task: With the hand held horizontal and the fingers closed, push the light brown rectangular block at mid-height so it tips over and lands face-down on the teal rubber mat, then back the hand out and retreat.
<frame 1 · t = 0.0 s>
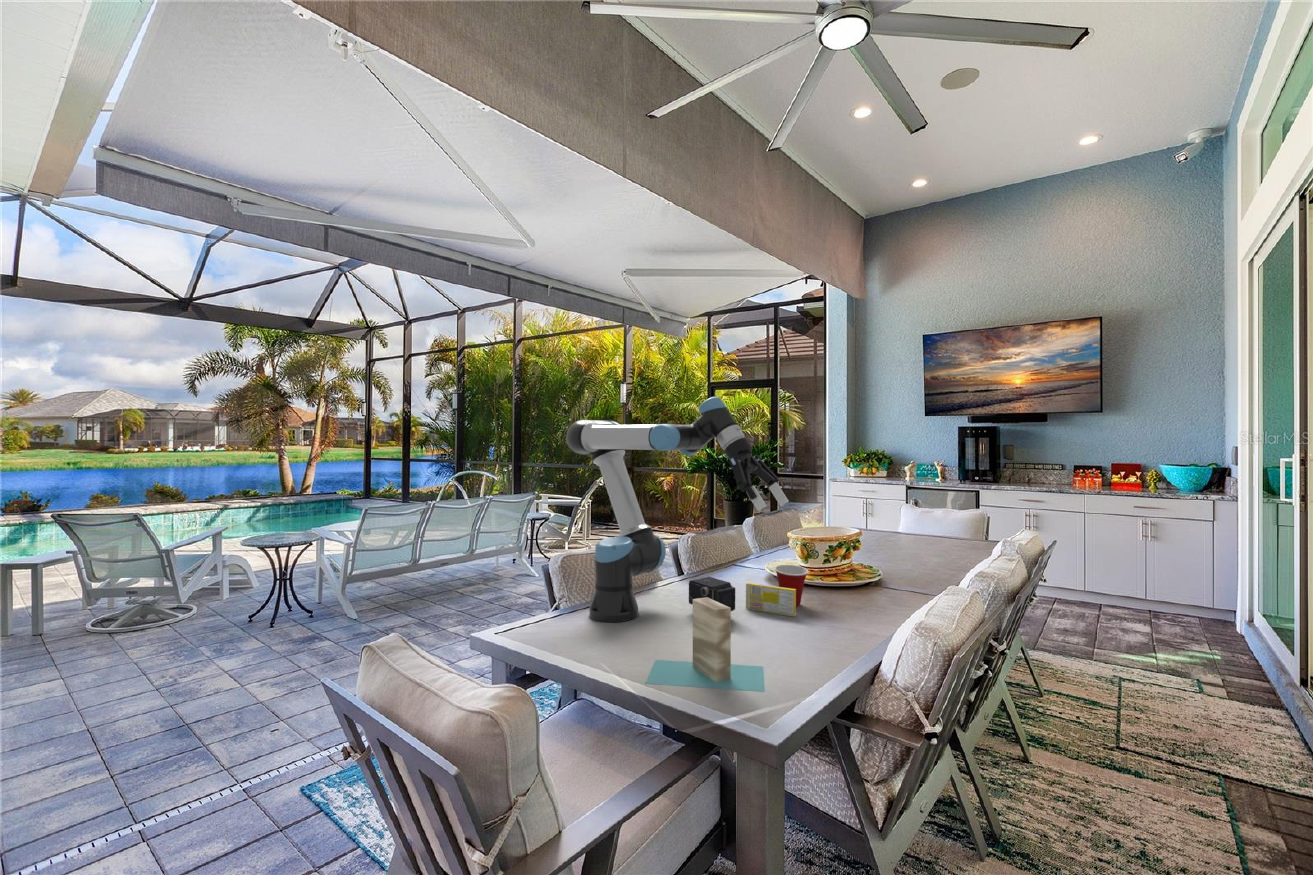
hand: (774, 506, 164), 36 cm above the table, tool tilted 35°, fingers open, 13 cm apart
plastic cup: (791, 605, 193), on the table
mat: (706, 677, 135), on the table
light brown rectangular block: (711, 672, 137), point 1 cm above the table, touching mat
camera: (711, 616, 182), on the table
candy box: (770, 612, 186), on the table
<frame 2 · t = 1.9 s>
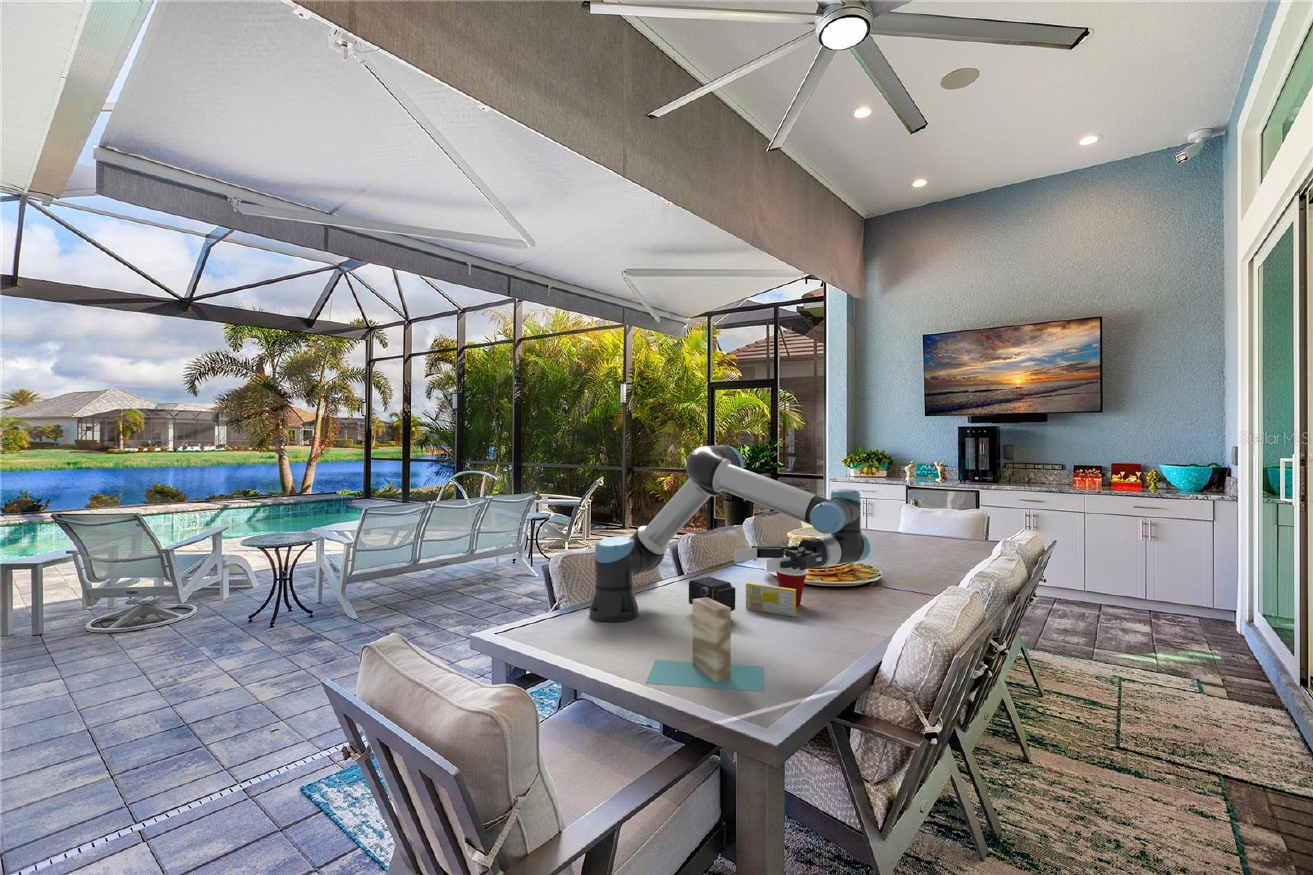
hand: (750, 560, 142), 25 cm above the table, tool horizontal, fingers open, 12 cm apart
nothing on the table moved.
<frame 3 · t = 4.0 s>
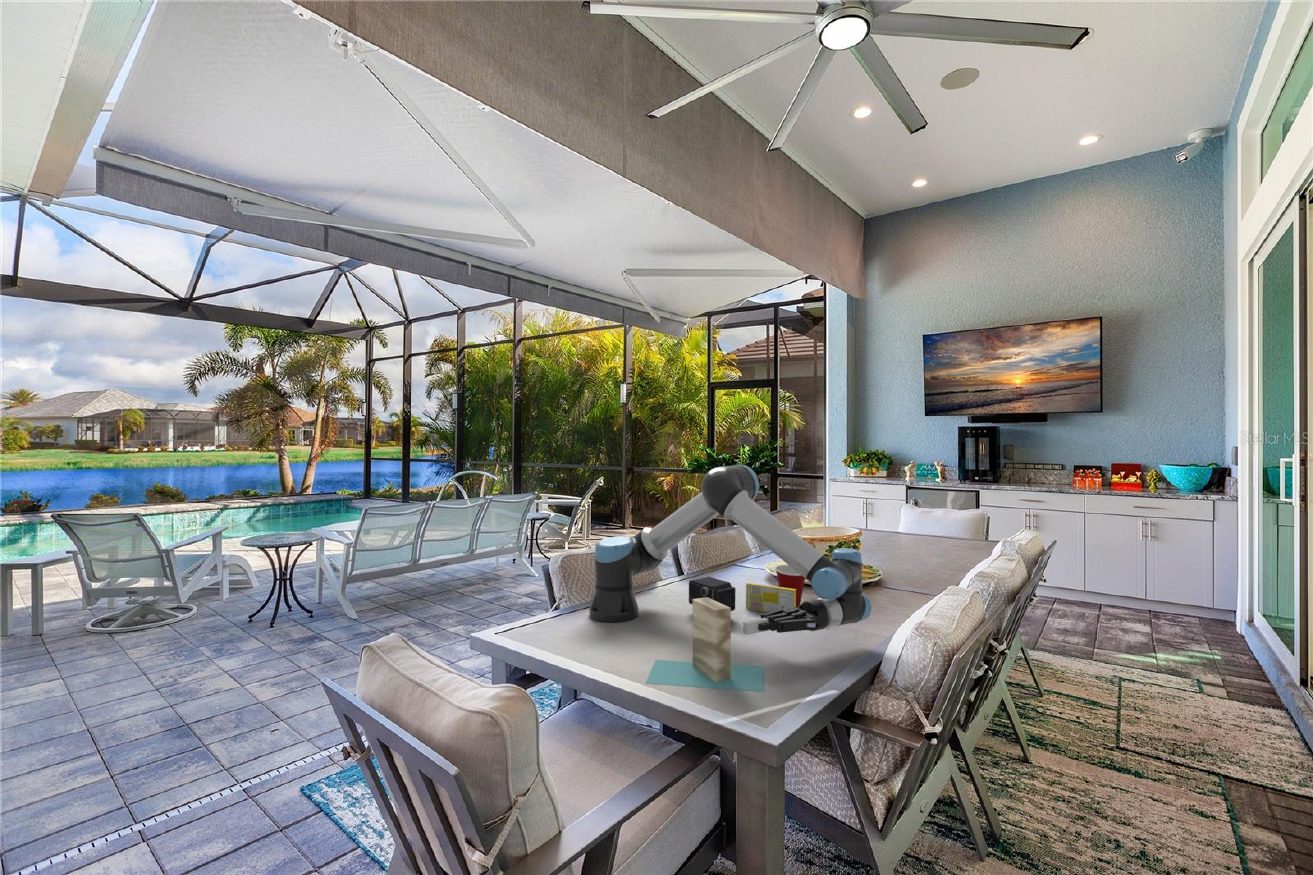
hand: (745, 628, 141), 9 cm above the table, tool horizontal, fingers closed
nothing on the table moved.
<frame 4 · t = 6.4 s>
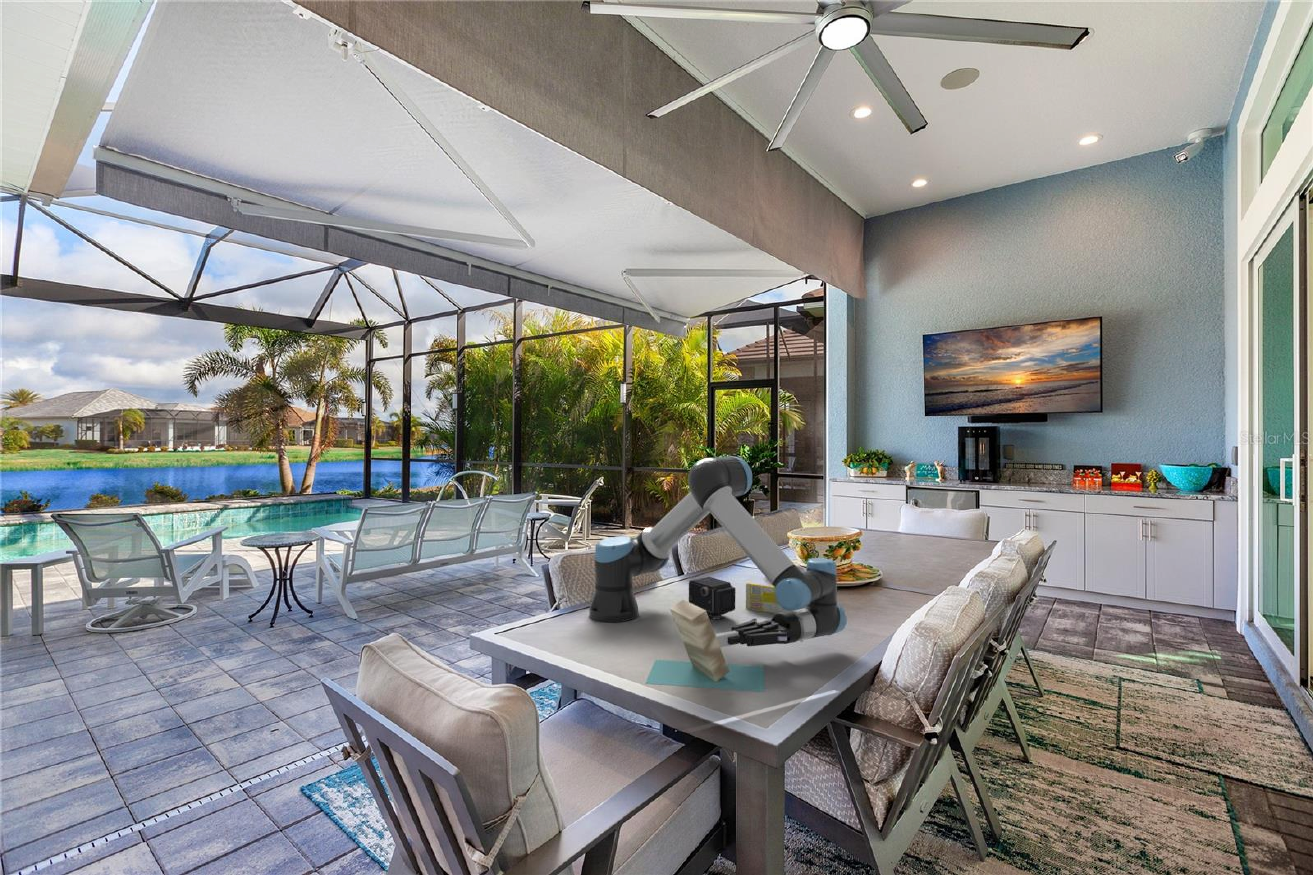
hand: (713, 641, 136), 8 cm above the table, tool horizontal, fingers closed
light brown rectangular block: (710, 669, 137), point 1 cm above the table, tilted 23°, touching mat
everything else where it was.
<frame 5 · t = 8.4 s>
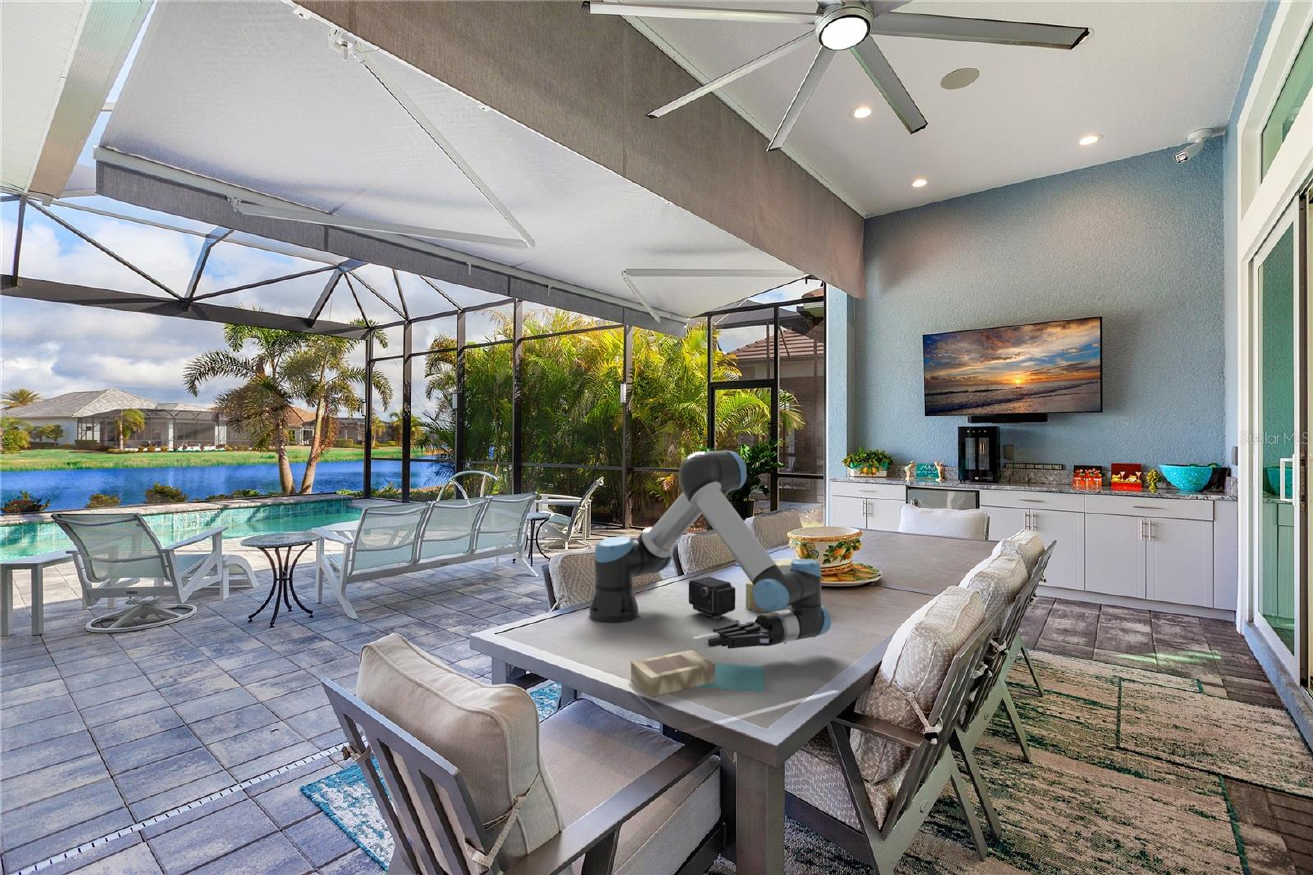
hand: (694, 643, 135), 8 cm above the table, tool horizontal, fingers closed
light brown rectangular block: (703, 665, 136), point 3 cm above the table, tilted 90°, touching mat
everything else where it was.
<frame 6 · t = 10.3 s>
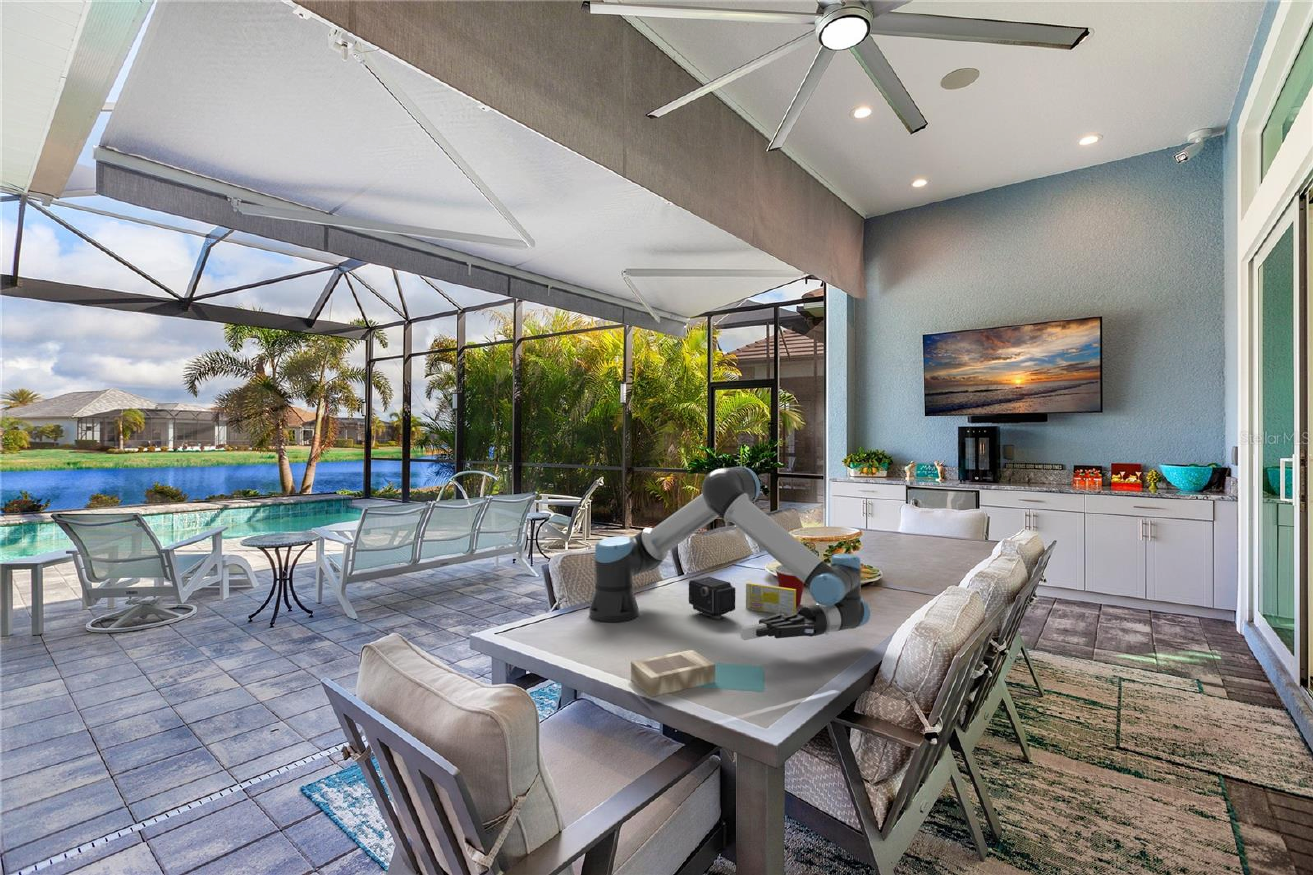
hand: (742, 633, 141), 8 cm above the table, tool horizontal, fingers closed
nothing on the table moved.
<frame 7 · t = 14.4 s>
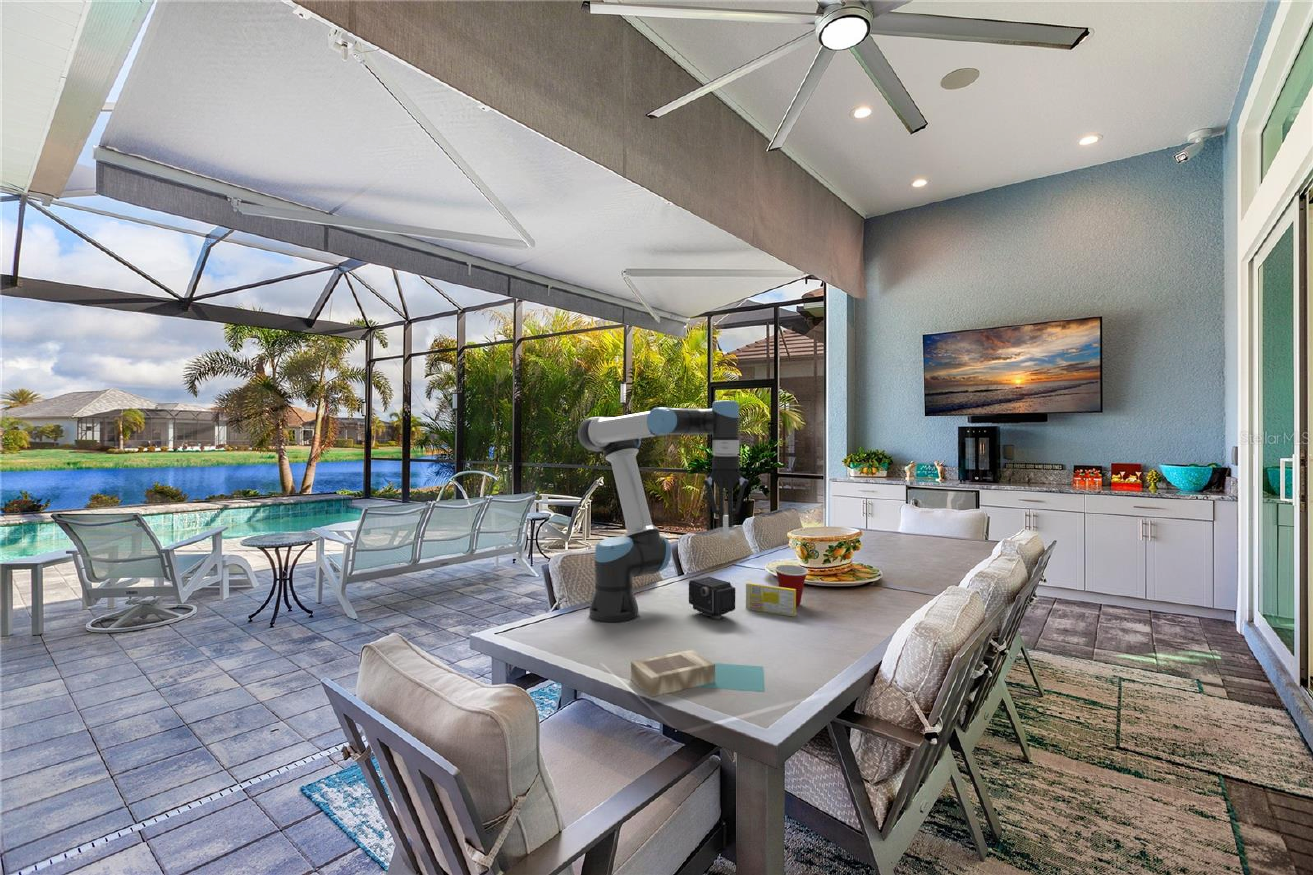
hand: (725, 538, 167), 26 cm above the table, tool pointing down, fingers closed
nothing on the table moved.
at the end: light brown rectangular block tilted 90°; light brown rectangular block inside the target area (0.7 cm from its centre), point 2.6 cm above the table; the gripper is holding nothing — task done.
